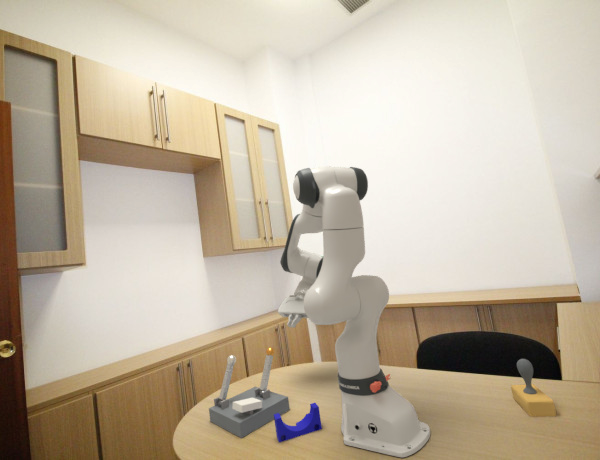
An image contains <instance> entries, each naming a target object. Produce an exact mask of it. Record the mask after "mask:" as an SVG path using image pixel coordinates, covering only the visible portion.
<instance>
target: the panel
mask: <svg viewBox="0 0 600 460" xmlns="http://www.w3.org/2000/svg"><path fill="white" fill-rule="evenodd" d="M259 390H261V389H260V386H258V387H257V386H254V387H251V388H249V389H247V390H245V391H243V392H241V393H239V394H235V396H232V397H230V398H226V400H224V401H222V402H221V406H220V405H218V404H217V400H218V399H219V396H218V397H216V398H213V402H214V404H213V406H210V407H209V408H208V412H209V413H208V414H209V421H210V422H211V423H212V424H214V425H216V426H217V427H219V428H222V429H223V430H225V431H226V432H229V433H231V434H233V435H235V436H237V437H238V438H240V439H243V438H244V437H246V436H247V435H249V434H251V433H253V432H255V431H256V430H258V429H260V428H262V427H263V426H265V425H266V424H268V423H270V422H272V421H273V420H274V414H277V413H279V414H280V416H282V415H283V414H286V413H288V412H289V411H290V410H291V409H290V401H289V396H286V395H283V394H280V393H277V392H274V391H271V390H270V389H269V388H267V390H266V391H265V390H263V391H264V392H262V393H263V396H260V395H258V391H259ZM248 398H255V399H258V400H261V401H262V408H259V409H255V410H251V411H247V412H243V413H241V412H239V411H237V410H234V409H232V408H233V402H235V401H239V400H244V399H248Z"/></svg>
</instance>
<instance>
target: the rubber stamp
mask: <svg viewBox="0 0 600 460" xmlns="http://www.w3.org/2000/svg"><path fill="white" fill-rule="evenodd" d="M516 368H517V371H518V373H519V374H520V376H521V378H522V379H523V381H524V384H511V385H510V389H511V394H512V398H513V399H514V401H516V403H517V404H518V405H519V406H520V408H521V409H522V410H523V411H524V412H525V413H526V414H527V415H528V416H529V417H530V418H537V417H538V418H540V417H556V416H557V412H556V408H555V403H554V400H553V399H552V398H550V397H549V396H548V394H546V393H544V392H543V391H542V390H541V389H540V388H539V387H537V385H535V384H533V383H532V382H533V381H532V380H533V376H534V367H533V364H532V362H530V361H529V360H528V359H526V358H520V359H519V360H517V362H516Z"/></svg>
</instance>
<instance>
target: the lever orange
mask: <svg viewBox="0 0 600 460" xmlns="http://www.w3.org/2000/svg"><path fill="white" fill-rule="evenodd" d="M265 353H266V355H265V360H264V364H263V365H264V366H263V370H262V374H261V375H262V376H261V381H260V385H259V387H260V389H261V390H259V391H258V395H260V396H263V393H262V392H264V391H263V390H265V391H266V390H268V386H269V385H268V384H269V380H270V374H271V369H272V363H273V357H274V355H275V353H276V352H275V349H274V347H272V346H268V347H267V349H266V350H265Z"/></svg>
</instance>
